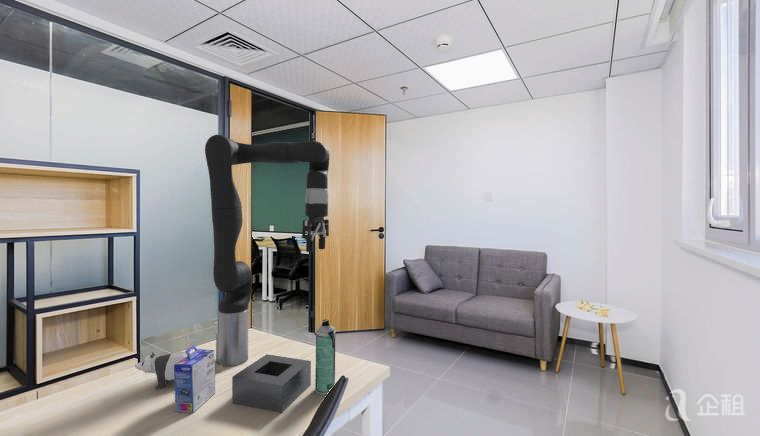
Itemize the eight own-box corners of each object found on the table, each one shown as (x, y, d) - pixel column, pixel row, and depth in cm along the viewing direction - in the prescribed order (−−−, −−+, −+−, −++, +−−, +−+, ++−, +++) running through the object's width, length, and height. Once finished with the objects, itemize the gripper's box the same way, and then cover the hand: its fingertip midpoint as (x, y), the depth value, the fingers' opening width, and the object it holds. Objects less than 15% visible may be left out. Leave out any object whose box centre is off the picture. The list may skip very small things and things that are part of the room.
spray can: (338, 387, 100) (338, 318, 99) (329, 396, 94) (329, 324, 94) (321, 383, 101) (321, 316, 101) (311, 393, 96) (312, 322, 96)
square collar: (232, 402, 91) (232, 376, 91) (266, 376, 105) (266, 354, 105) (281, 413, 86) (282, 385, 86) (310, 384, 101) (310, 360, 101)
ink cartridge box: (197, 391, 96) (197, 340, 96) (216, 392, 96) (216, 341, 96) (172, 412, 86) (172, 354, 86) (193, 413, 86) (193, 356, 86)
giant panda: (195, 376, 105) (195, 345, 105) (192, 384, 100) (192, 352, 100) (138, 384, 100) (138, 351, 100) (132, 393, 95) (132, 359, 95)
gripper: (316, 202, 124) (316, 247, 124) (295, 201, 110) (294, 252, 111) (335, 203, 122) (335, 249, 122) (316, 202, 108) (315, 253, 108)
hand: (315, 250), depth 116 cm, fingers open, 8 cm apart
